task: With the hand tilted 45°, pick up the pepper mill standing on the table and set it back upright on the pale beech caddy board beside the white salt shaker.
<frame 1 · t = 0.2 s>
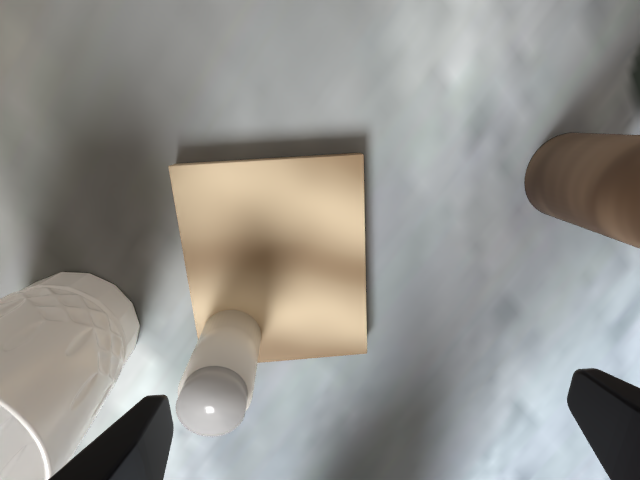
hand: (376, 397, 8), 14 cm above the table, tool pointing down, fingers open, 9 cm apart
pepper mill: (564, 175, 22), on the table
white cup: (84, 320, 23), on the table
caddy board: (278, 261, 22), on the table
salt shaker: (232, 335, 22), resting on caddy board
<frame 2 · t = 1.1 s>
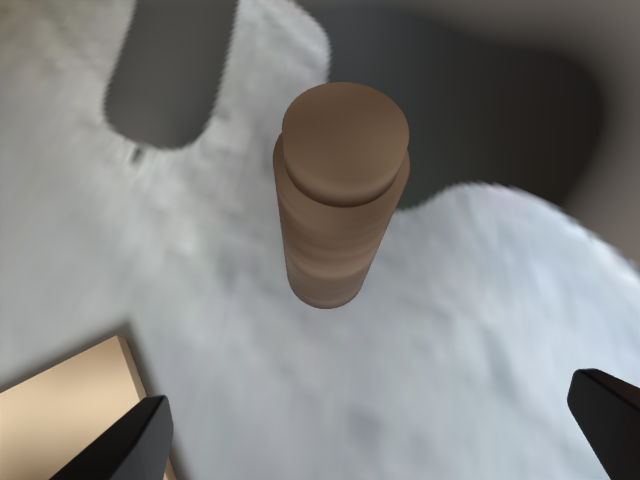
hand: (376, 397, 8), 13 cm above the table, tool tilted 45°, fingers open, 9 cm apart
pepper mill: (325, 271, 24), on the table
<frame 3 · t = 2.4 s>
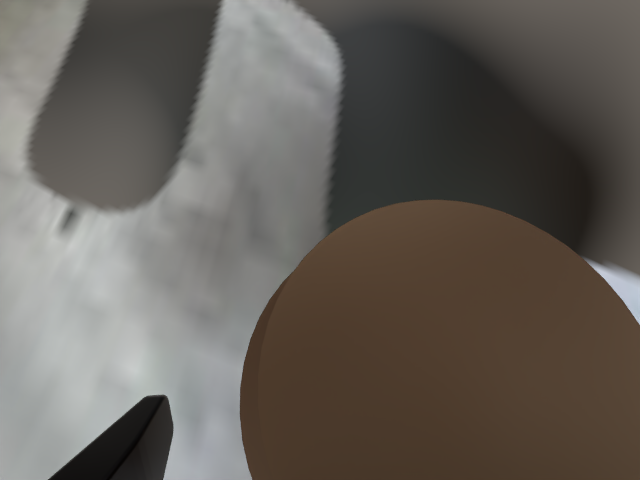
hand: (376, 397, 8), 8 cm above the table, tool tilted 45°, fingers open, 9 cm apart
pepper mill: (343, 409, 15), on the table
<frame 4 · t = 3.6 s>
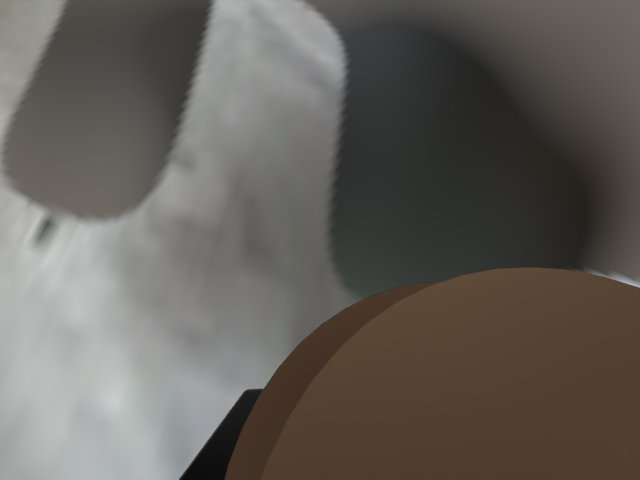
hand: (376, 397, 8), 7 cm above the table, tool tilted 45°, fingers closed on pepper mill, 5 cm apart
pepper mill: (349, 446, 14), on the table, touching gripper
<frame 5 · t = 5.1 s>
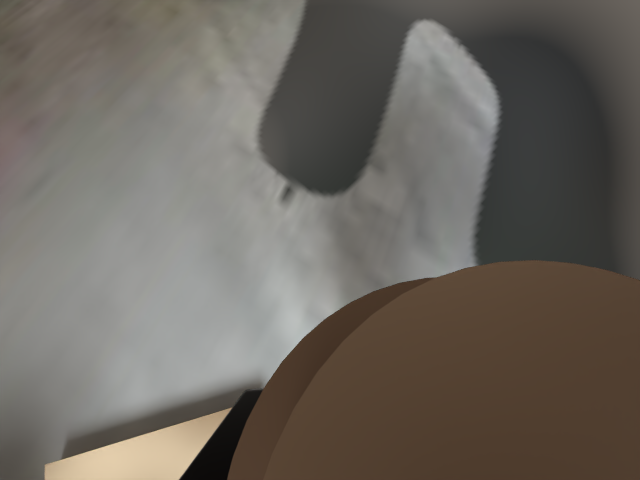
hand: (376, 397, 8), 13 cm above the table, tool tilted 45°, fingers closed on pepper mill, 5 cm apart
pepper mill: (350, 444, 14), point 7 cm above the table, touching gripper
when the fingers open (9 cm above the table, at t = 6.8 s): pepper mill drops 1 cm, resting on caddy board.
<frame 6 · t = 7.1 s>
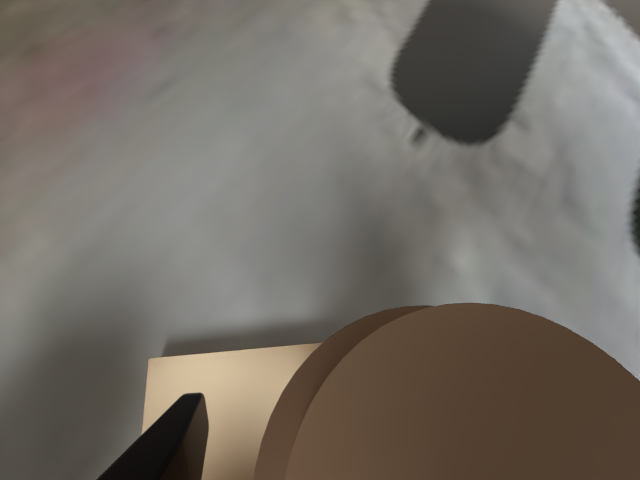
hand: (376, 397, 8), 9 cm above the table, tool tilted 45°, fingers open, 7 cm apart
pepper mill: (346, 446, 15), point 1 cm above the table, touching caddy board
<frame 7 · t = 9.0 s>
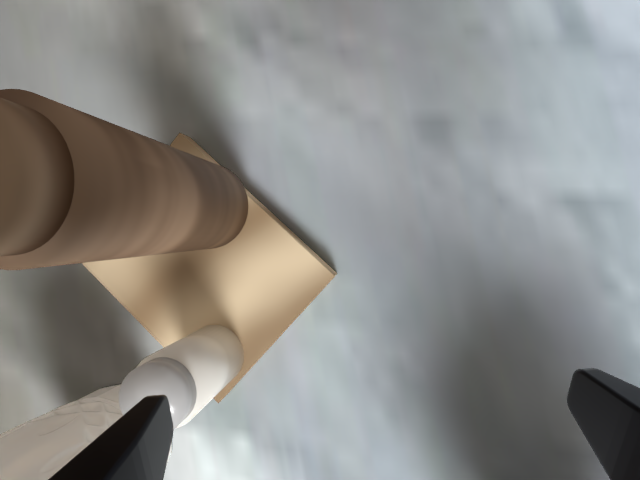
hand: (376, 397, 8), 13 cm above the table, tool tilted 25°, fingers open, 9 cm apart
pepper mill: (207, 206, 21), point 1 cm above the table, touching caddy board
white cup: (127, 433, 24), on the table
caddy board: (208, 266, 23), on the table
salt shaker: (215, 354, 22), resting on caddy board
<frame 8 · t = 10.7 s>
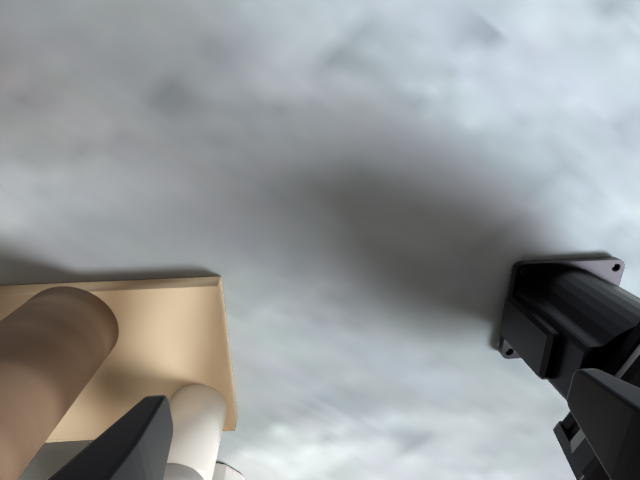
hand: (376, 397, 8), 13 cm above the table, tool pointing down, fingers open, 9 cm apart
pepper mill: (71, 326, 20), point 1 cm above the table, touching caddy board
caddy board: (128, 356, 23), on the table
salt shaker: (198, 407, 23), resting on caddy board
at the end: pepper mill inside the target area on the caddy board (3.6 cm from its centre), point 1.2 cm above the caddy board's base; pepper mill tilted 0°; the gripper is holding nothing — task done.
